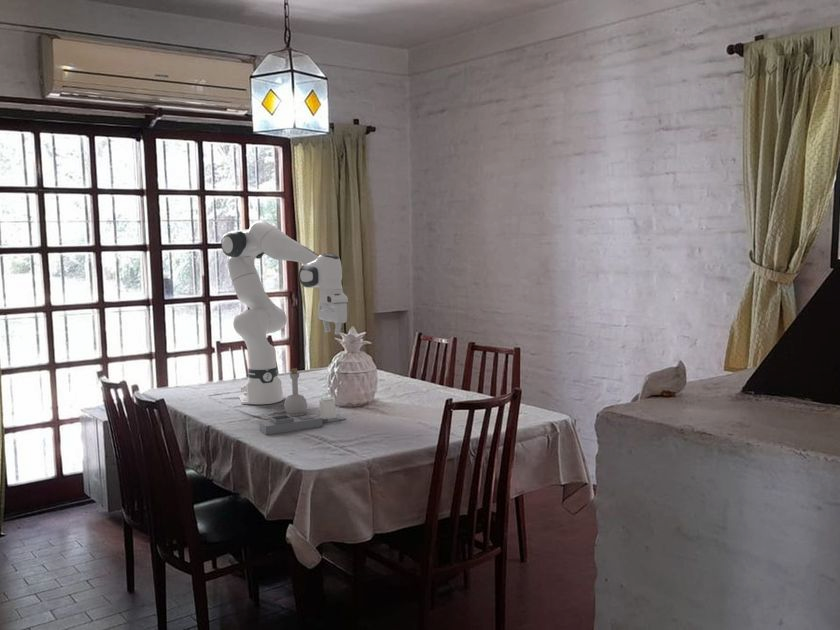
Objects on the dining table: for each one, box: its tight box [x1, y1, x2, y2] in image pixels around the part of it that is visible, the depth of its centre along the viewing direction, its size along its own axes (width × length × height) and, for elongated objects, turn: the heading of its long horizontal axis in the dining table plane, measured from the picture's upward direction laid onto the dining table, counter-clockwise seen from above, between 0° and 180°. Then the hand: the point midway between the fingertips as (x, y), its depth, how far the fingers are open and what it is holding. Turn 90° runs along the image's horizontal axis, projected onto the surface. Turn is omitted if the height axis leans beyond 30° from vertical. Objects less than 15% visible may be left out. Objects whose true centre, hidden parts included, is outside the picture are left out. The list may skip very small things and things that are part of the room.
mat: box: [318, 413, 347, 424], centre depth 294 cm, size 10×10×1 cm
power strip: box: [259, 414, 328, 436], centre depth 282 cm, size 7×25×4 cm, turn 119°
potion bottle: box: [283, 367, 308, 417], centre depth 303 cm, size 9×9×18 cm
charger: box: [319, 396, 337, 419], centre depth 294 cm, size 4×4×7 cm
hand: (332, 333), depth 300 cm, fingers open, 8 cm apart
